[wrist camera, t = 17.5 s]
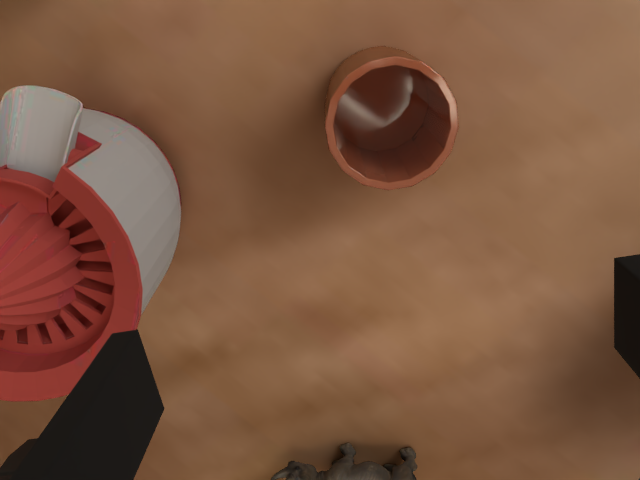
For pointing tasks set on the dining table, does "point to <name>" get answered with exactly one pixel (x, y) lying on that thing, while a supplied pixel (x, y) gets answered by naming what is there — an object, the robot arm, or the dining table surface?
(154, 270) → the citrus juicer
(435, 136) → the terracotta cup
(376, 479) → the rhino figurine
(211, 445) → the dining table surface
